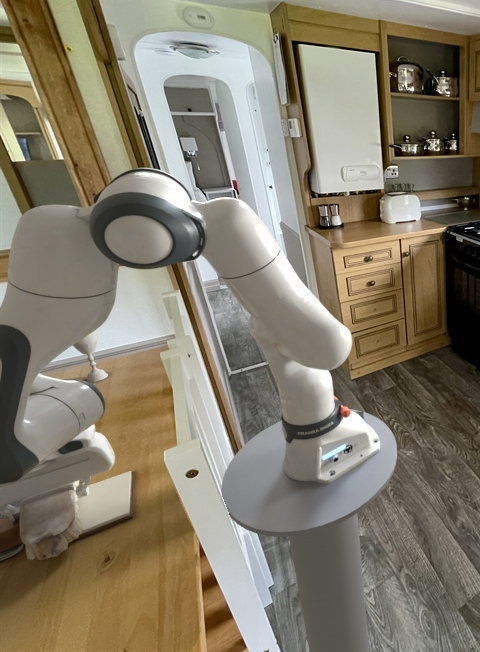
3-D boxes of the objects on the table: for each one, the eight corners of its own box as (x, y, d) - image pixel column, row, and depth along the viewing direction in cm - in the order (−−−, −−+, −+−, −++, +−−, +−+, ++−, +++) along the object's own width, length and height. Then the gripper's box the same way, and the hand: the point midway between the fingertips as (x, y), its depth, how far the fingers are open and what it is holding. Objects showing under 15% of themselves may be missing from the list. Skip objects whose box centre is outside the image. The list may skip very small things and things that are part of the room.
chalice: (76, 380, 117) (56, 328, 110) (102, 370, 123) (84, 319, 116) (92, 385, 115) (72, 332, 108) (117, 374, 121) (100, 323, 114)
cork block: (26, 508, 71) (-7, 521, 68) (25, 522, 68) (-9, 536, 66) (34, 524, 72) (2, 537, 70) (33, 538, 70) (0, 552, 67)
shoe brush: (88, 541, 67) (79, 521, 66) (26, 571, 62) (15, 550, 60) (79, 468, 83) (71, 450, 81) (28, 487, 77) (19, 468, 76)
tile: (134, 472, 85) (133, 468, 84) (133, 517, 75) (131, 512, 74) (59, 499, 78) (56, 494, 77) (45, 552, 67) (43, 547, 67)
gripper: (-78, 487, 58) (-39, 550, 63) (101, 435, 70) (121, 491, 75) (-62, 463, 63) (-27, 522, 68) (103, 417, 75) (123, 471, 80)
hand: (52, 505), depth 72 cm, fingers closed on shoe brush, 7 cm apart
